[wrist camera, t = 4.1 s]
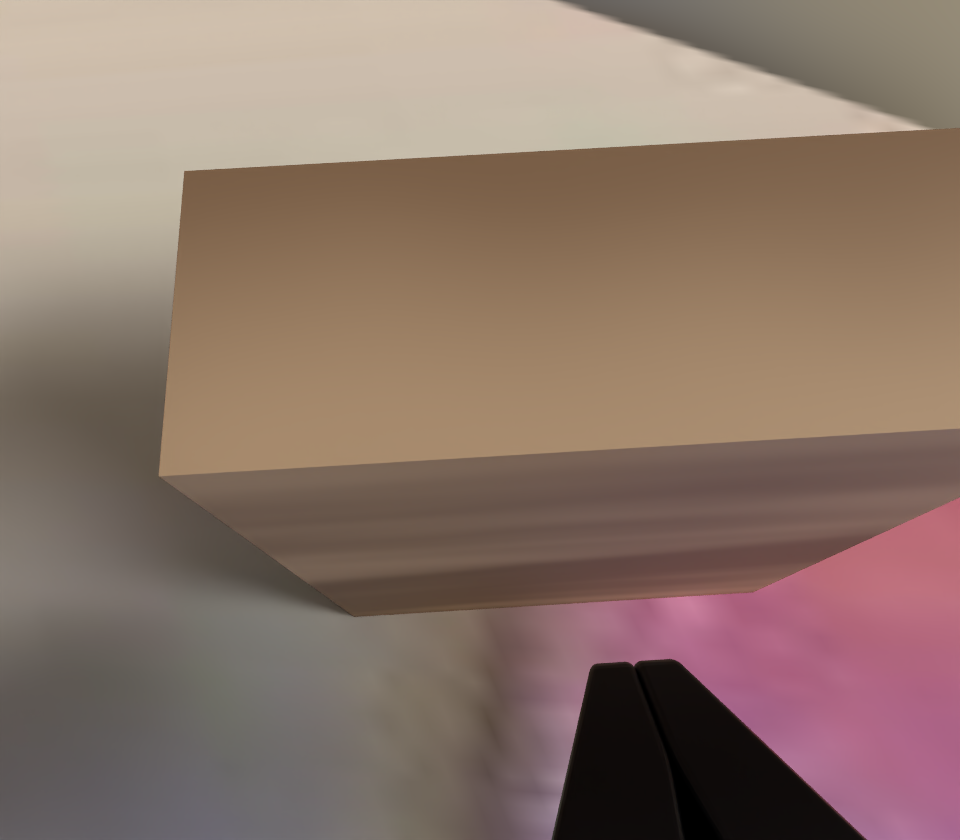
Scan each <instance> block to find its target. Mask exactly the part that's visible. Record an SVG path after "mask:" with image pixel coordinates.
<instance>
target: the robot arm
mask: <svg viewBox="0 0 960 840" xmlns="http://www.w3.org/2000/svg"><path fill="white" fill-rule="evenodd" d="M552 840H867V839H866V838H864V837H863V836H862V835H861V834H860V833H859V832H858V831H857V830H856V829H855V828H854V827H853V826H852V825H851V824H850V823H849V822H848V821H847V820H845V819H844V818H843V817H842V816H841V815H840V814H839V813H838V812H837V811H836V810H835V809H834V808H833V807H832V806H831V805H830V804H829V803H828V802H826V801H825V800H824V799H823V798H822V797H821V796H820V795H819V794H818V793H817V792H816V791H815V790H814V789H813V788H812V787H811V786H810V785H808V784H807V783H806V782H805V781H804V780H803V779H802V778H801V777H800V776H799V775H798V774H797V773H796V772H795V771H794V770H793V769H792V768H791V767H789V766H788V765H787V764H786V763H785V762H784V761H783V760H782V759H781V758H780V757H779V756H778V755H777V754H776V753H775V752H774V751H773V750H772V749H770V748H769V747H768V746H767V745H766V744H765V743H764V742H763V741H762V740H761V739H760V738H759V737H758V736H757V735H756V734H755V733H754V732H752V731H751V730H750V729H749V728H748V727H747V726H746V725H745V724H744V723H743V722H742V721H741V720H740V719H739V718H738V717H737V716H736V715H735V714H733V713H732V712H731V711H730V710H729V709H728V708H727V707H726V706H725V705H724V704H723V703H722V702H721V701H720V700H719V699H718V698H717V697H716V696H714V695H713V694H712V693H711V692H710V691H709V690H708V689H707V688H706V687H705V686H704V685H703V684H702V683H701V682H700V681H699V680H698V679H697V678H695V677H694V676H693V675H692V674H691V673H690V672H689V671H688V670H687V669H686V668H685V667H684V666H683V665H682V664H680V663H679V662H677V661H675V660H672V659H664V660H648V661H639V662H638V663H636V664H635V665H634V667H633V665H632V664H630V663H628V662H616V663H600V664H594V665H593V666H592V667H591V669H590V672H589V676H588V681H587V685H586V689H585V694H584V698H583V703H582V707H581V712H580V716H579V720H578V725H577V729H576V734H575V738H574V743H573V747H572V751H571V756H570V760H569V765H568V769H567V774H566V778H565V782H564V787H563V791H562V796H561V800H560V804H559V809H558V813H557V818H556V822H555V827H554V831H553V835H552Z"/></svg>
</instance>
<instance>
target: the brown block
mask: <svg viewBox="0 0 960 840" xmlns="http://www.w3.org/2000/svg"><path fill="white" fill-rule="evenodd" d="M159 477H160V478H162V479H163V480H164V481H166V482H167V483H169V484H170V485H171V486H173V487H174V488H176V489H177V490H178V491H180V492H181V493H182V494H184V495H185V496H187V497H188V498H189V499H191V500H192V501H194V502H195V503H196V504H198V505H199V506H201V507H202V508H203V509H205V510H206V511H208V512H209V513H210V514H212V515H213V516H215V517H216V518H217V519H219V520H220V521H221V522H223V523H224V524H226V525H227V526H228V527H230V528H231V529H233V530H234V531H235V532H237V533H238V534H240V535H241V536H242V537H244V538H245V539H247V540H248V541H249V542H251V543H252V544H253V545H255V546H256V547H258V548H259V549H260V550H262V551H263V552H265V553H266V554H267V555H269V556H270V557H272V558H273V559H274V560H276V561H277V562H279V563H280V564H281V565H283V566H284V567H286V568H287V569H288V570H290V571H291V572H292V573H294V574H295V575H297V576H298V577H299V578H301V579H302V580H304V581H305V582H306V583H308V584H309V585H311V586H312V587H313V588H315V589H316V590H318V591H319V592H320V593H322V594H323V595H324V596H326V597H327V598H329V599H330V600H331V601H333V602H334V603H336V604H337V605H338V606H340V607H341V608H343V609H344V610H345V611H347V612H348V613H350V614H351V615H352V616H354V617H359V616H376V615H392V614H408V613H424V612H440V611H457V610H473V609H489V608H505V607H521V606H538V605H554V604H570V603H586V602H603V601H619V600H635V599H651V598H667V597H684V596H700V595H716V594H732V593H748V592H755V591H757V590H759V589H761V588H763V587H765V586H768V585H770V584H772V583H774V582H776V581H779V580H781V579H783V578H785V577H787V576H789V575H792V574H794V573H796V572H798V571H800V570H803V569H805V568H807V567H809V566H811V565H813V564H816V563H818V562H820V561H822V560H824V559H826V558H829V557H831V556H833V555H835V554H837V553H840V552H842V551H844V550H846V549H848V548H850V547H853V546H855V545H857V544H859V543H861V542H863V541H866V540H868V539H870V538H872V537H874V536H877V535H879V534H881V533H883V532H885V531H887V530H890V529H892V528H894V527H896V526H898V525H900V524H903V523H905V522H907V521H909V520H911V519H914V518H916V517H918V516H920V515H922V514H924V513H927V512H929V511H931V510H933V509H935V508H938V507H940V506H942V505H944V504H946V503H948V502H951V501H953V500H955V499H957V498H959V497H960V128H952V129H933V130H915V131H897V132H879V133H861V134H843V135H825V136H807V137H789V138H771V139H754V140H736V141H718V142H700V143H682V144H664V145H646V146H628V147H610V148H592V149H574V150H556V151H538V152H520V153H502V154H484V155H466V156H448V157H430V158H412V159H394V160H376V161H358V162H340V163H322V164H304V165H286V166H268V167H250V168H232V169H214V170H196V171H184V182H183V194H182V206H181V218H180V229H179V241H178V253H177V265H176V277H175V288H174V300H173V312H172V324H171V336H170V347H169V359H168V371H167V383H166V395H165V406H164V418H163V430H162V442H161V454H160V465H159Z"/></svg>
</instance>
